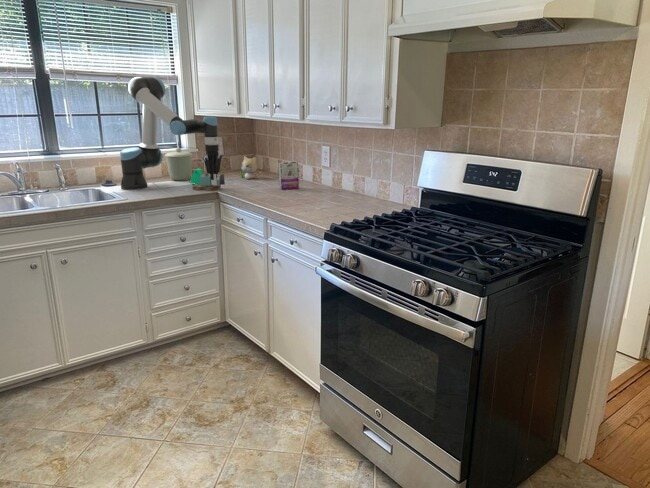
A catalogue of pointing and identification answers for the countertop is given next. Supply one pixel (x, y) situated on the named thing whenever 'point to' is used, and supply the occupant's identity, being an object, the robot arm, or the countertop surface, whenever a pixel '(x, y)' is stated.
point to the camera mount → (196, 176)
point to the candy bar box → (288, 175)
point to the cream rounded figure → (249, 168)
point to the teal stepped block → (207, 180)
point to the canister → (179, 165)
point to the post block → (208, 188)
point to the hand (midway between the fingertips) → (214, 184)
